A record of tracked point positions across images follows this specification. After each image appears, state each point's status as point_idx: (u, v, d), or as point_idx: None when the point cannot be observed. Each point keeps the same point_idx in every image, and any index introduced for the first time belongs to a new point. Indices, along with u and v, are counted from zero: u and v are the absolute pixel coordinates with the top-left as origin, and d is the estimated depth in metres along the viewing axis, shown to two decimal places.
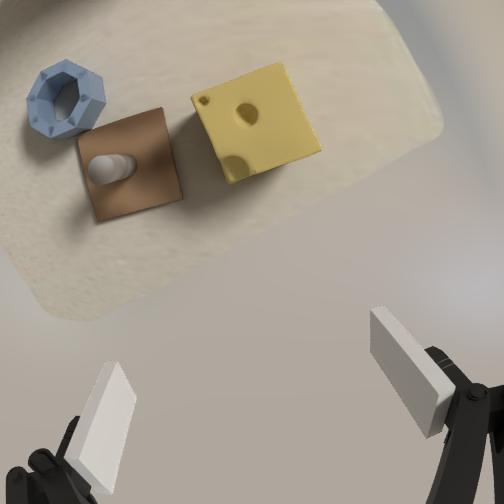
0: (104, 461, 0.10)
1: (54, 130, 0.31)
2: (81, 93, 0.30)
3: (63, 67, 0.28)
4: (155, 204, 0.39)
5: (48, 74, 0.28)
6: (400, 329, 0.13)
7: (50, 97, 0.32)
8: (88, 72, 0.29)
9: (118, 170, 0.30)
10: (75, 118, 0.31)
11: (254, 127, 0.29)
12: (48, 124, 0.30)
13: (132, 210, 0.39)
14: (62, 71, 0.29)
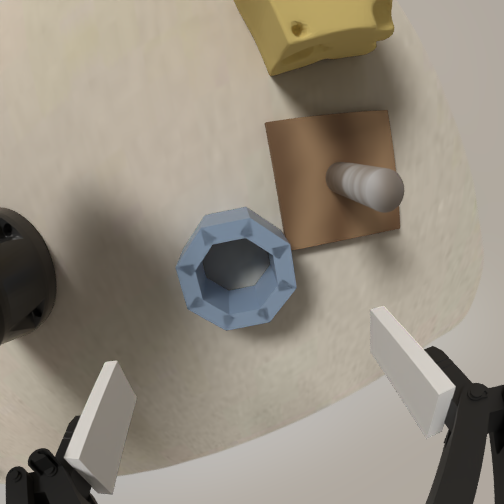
0: (104, 461, 0.10)
1: (286, 280, 0.27)
2: (238, 235, 0.25)
3: (189, 270, 0.26)
4: (391, 145, 0.28)
5: (195, 295, 0.26)
6: (400, 329, 0.13)
7: (224, 294, 0.30)
8: (205, 226, 0.25)
9: (381, 167, 0.20)
10: (276, 245, 0.26)
11: None
12: (275, 290, 0.27)
13: None
14: (195, 271, 0.26)
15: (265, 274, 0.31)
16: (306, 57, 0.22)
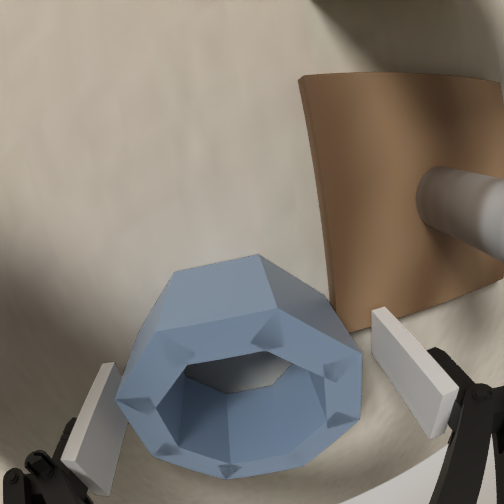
0: (101, 463, 0.10)
1: (344, 411, 0.12)
2: (249, 347, 0.10)
3: (142, 406, 0.11)
4: None
5: (162, 441, 0.11)
6: (402, 330, 0.12)
7: (218, 409, 0.15)
8: (166, 326, 0.10)
9: None
10: (334, 358, 0.11)
11: None
12: (320, 428, 0.12)
13: None
14: (156, 407, 0.11)
15: (293, 373, 0.16)
16: None
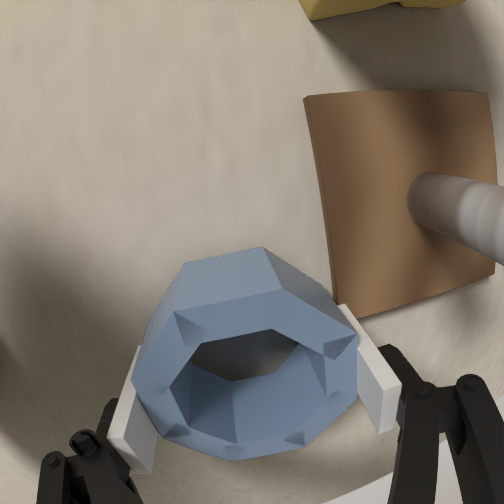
0: (144, 441, 0.11)
1: (342, 390, 0.13)
2: (257, 325, 0.11)
3: (156, 385, 0.12)
4: (493, 148, 0.14)
5: (173, 421, 0.13)
6: (356, 326, 0.14)
7: (224, 394, 0.17)
8: (182, 306, 0.11)
9: None
10: (332, 337, 0.12)
11: None
12: (320, 407, 0.13)
13: None
14: (169, 387, 0.12)
15: (293, 359, 0.17)
16: None
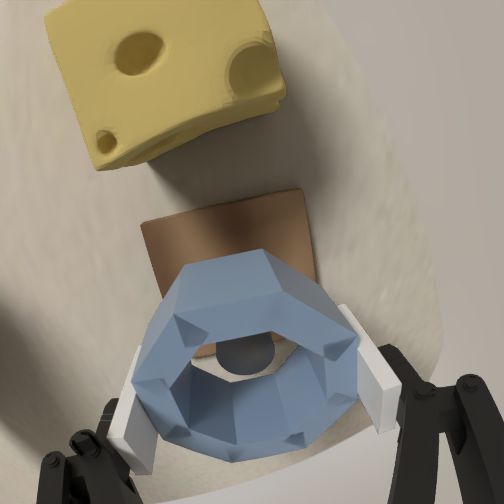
0: (144, 441, 0.11)
1: (343, 391, 0.13)
2: (257, 327, 0.11)
3: (157, 387, 0.12)
4: (307, 236, 0.24)
5: (174, 423, 0.12)
6: (356, 326, 0.14)
7: (224, 396, 0.17)
8: (183, 309, 0.11)
9: None
10: (333, 339, 0.12)
11: (167, 36, 0.11)
12: (320, 409, 0.13)
13: (312, 275, 0.25)
14: (169, 388, 0.12)
15: (293, 360, 0.17)
16: (172, 142, 0.18)
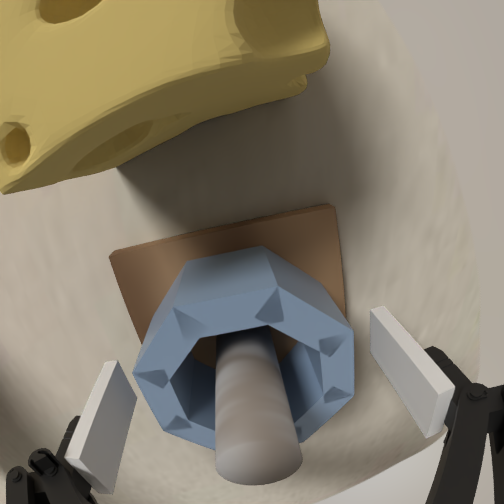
0: (104, 461, 0.10)
1: (339, 386, 0.13)
2: (253, 321, 0.12)
3: (157, 378, 0.12)
4: (339, 270, 0.17)
5: (174, 414, 0.13)
6: (400, 329, 0.13)
7: None
8: (182, 302, 0.12)
9: (263, 414, 0.10)
10: (328, 333, 0.12)
11: None
12: (317, 403, 0.14)
13: None
14: (169, 380, 0.13)
15: (293, 356, 0.18)
16: (144, 138, 0.12)
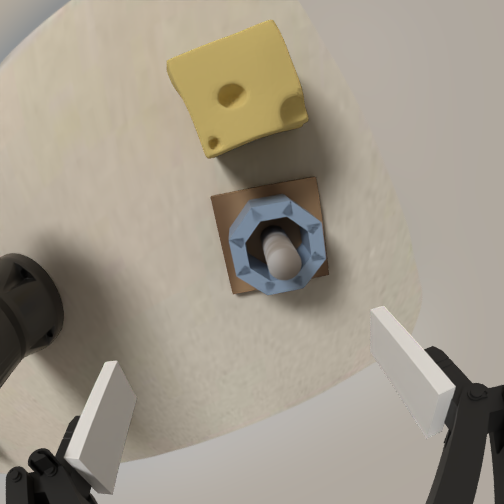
0: (104, 461, 0.10)
1: (318, 252, 0.32)
2: (281, 214, 0.31)
3: (239, 242, 0.32)
4: (319, 207, 0.36)
5: (243, 264, 0.32)
6: (400, 329, 0.13)
7: (263, 266, 0.36)
8: (254, 206, 0.31)
9: (286, 244, 0.29)
10: (311, 222, 0.31)
11: (247, 87, 0.24)
12: (309, 261, 0.33)
13: None
14: (244, 244, 0.32)
15: (298, 250, 0.37)
16: (237, 144, 0.31)
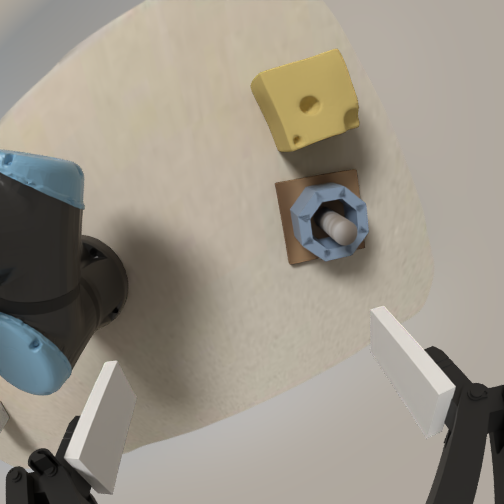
0: (104, 461, 0.10)
1: (363, 226, 0.41)
2: (337, 197, 0.39)
3: (306, 218, 0.40)
4: (358, 193, 0.44)
5: (308, 236, 0.40)
6: (400, 329, 0.13)
7: (317, 240, 0.44)
8: (317, 190, 0.39)
9: (345, 218, 0.37)
10: (358, 203, 0.40)
11: (321, 100, 0.32)
12: None
13: None
14: (309, 219, 0.40)
15: None
16: None
